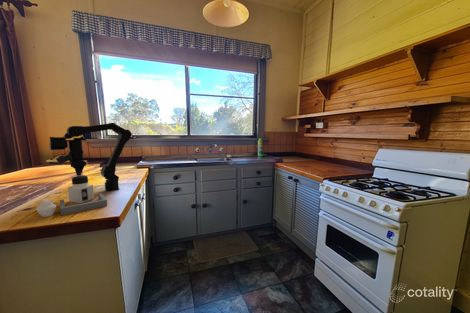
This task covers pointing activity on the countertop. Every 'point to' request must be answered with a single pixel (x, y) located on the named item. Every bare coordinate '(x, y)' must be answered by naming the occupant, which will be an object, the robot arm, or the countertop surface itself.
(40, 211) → the white rounded lump
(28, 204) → the countertop surface
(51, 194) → the countertop surface
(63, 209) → the display bay
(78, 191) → the container
